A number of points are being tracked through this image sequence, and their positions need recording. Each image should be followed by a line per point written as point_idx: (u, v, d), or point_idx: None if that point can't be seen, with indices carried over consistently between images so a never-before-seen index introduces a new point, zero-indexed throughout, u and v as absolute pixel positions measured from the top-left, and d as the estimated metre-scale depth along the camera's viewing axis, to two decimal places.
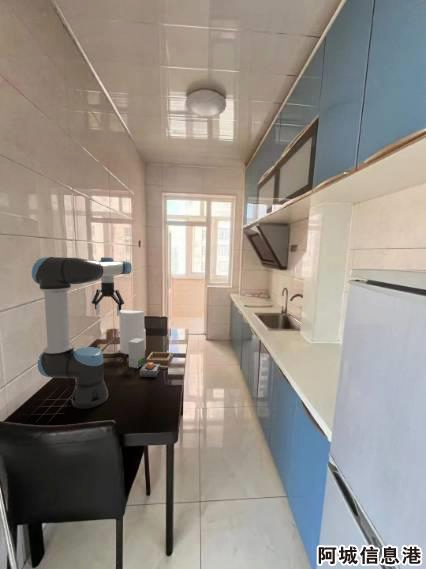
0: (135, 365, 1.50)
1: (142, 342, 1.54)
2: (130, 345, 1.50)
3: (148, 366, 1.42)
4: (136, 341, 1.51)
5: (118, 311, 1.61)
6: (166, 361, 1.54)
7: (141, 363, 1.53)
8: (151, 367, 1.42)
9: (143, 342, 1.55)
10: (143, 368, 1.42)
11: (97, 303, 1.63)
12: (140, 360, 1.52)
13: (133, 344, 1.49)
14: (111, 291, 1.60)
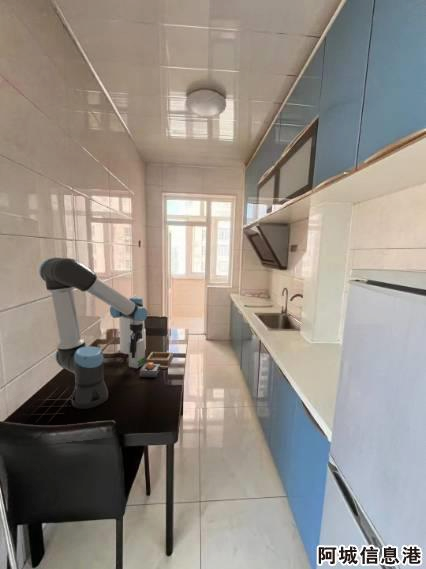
0: (135, 365, 1.50)
1: (142, 342, 1.54)
2: None
3: (148, 366, 1.42)
4: None
5: (132, 358, 1.49)
6: (166, 361, 1.54)
7: (141, 363, 1.53)
8: (151, 367, 1.42)
9: (143, 342, 1.55)
10: (143, 368, 1.42)
11: None
12: (140, 360, 1.52)
13: None
14: None
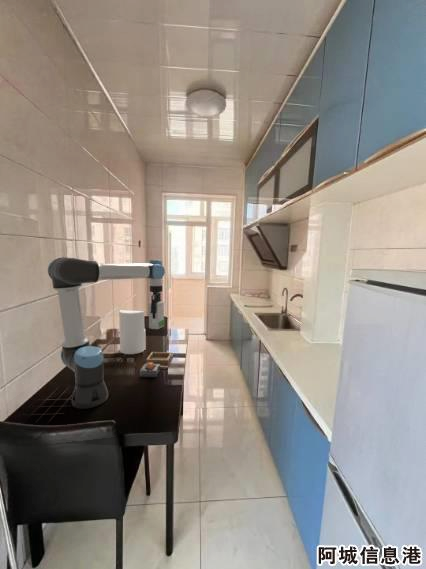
0: (156, 326, 1.53)
1: (161, 304, 1.56)
2: (150, 307, 1.52)
3: (148, 366, 1.42)
4: None
5: (152, 319, 1.51)
6: (166, 361, 1.54)
7: (161, 325, 1.56)
8: (151, 367, 1.42)
9: (162, 304, 1.57)
10: (143, 368, 1.42)
11: None
12: (160, 322, 1.55)
13: None
14: None
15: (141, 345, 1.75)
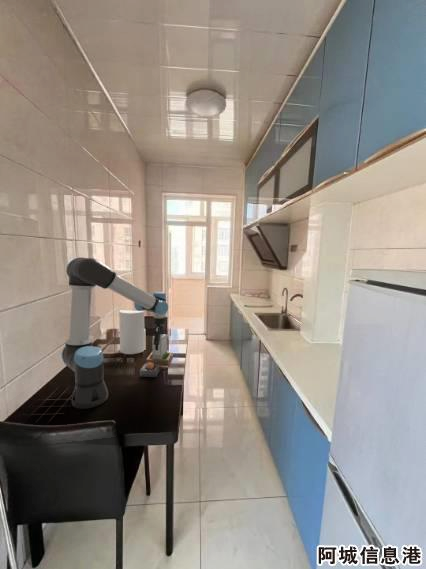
0: None
1: (165, 337, 1.60)
2: None
3: (148, 366, 1.42)
4: (160, 336, 1.57)
5: (155, 350, 1.53)
6: (166, 361, 1.54)
7: (164, 357, 1.59)
8: (151, 367, 1.42)
9: (165, 337, 1.61)
10: (143, 368, 1.42)
11: None
12: (163, 355, 1.58)
13: None
14: None
15: (141, 345, 1.75)
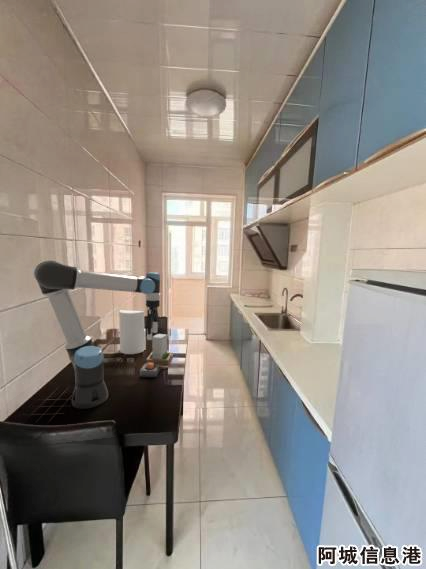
0: None
1: (165, 337, 1.60)
2: (154, 340, 1.56)
3: (148, 366, 1.42)
4: (160, 336, 1.57)
5: (147, 334, 1.40)
6: (166, 361, 1.54)
7: (164, 357, 1.59)
8: (151, 367, 1.42)
9: (165, 337, 1.61)
10: (143, 368, 1.42)
11: (155, 320, 1.53)
12: (163, 355, 1.58)
13: (157, 339, 1.55)
14: None
15: (141, 345, 1.75)
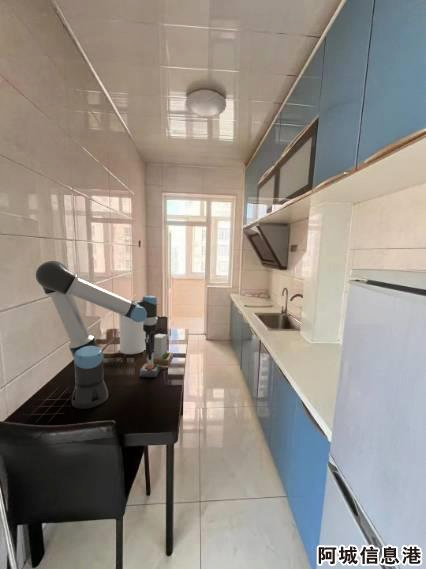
0: None
1: (165, 337, 1.60)
2: None
3: (148, 367, 1.42)
4: (160, 336, 1.57)
5: (148, 360, 1.43)
6: (166, 361, 1.54)
7: (164, 357, 1.59)
8: (151, 368, 1.42)
9: (165, 337, 1.61)
10: (143, 368, 1.42)
11: None
12: (163, 355, 1.58)
13: (157, 339, 1.55)
14: None
15: (141, 345, 1.75)
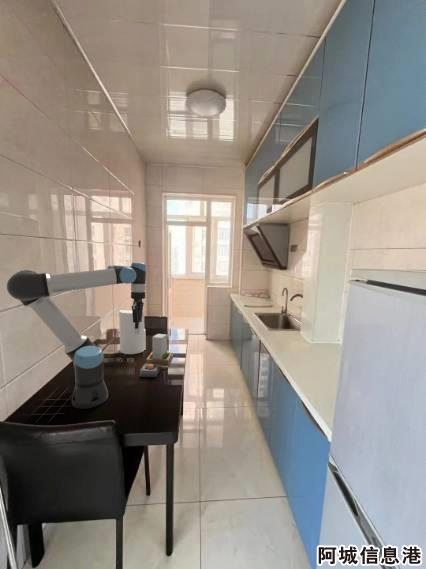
0: None
1: (165, 337, 1.59)
2: (154, 340, 1.56)
3: (148, 367, 1.42)
4: (160, 336, 1.57)
5: (135, 329, 1.39)
6: (166, 361, 1.54)
7: (164, 357, 1.59)
8: (151, 368, 1.42)
9: (165, 337, 1.61)
10: (143, 368, 1.42)
11: None
12: (163, 355, 1.58)
13: (157, 339, 1.55)
14: None
15: (141, 345, 1.75)
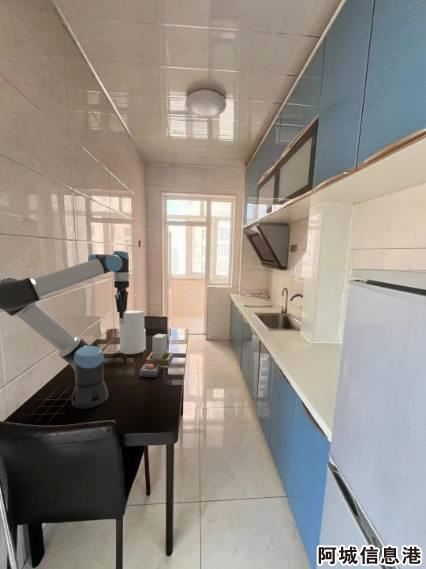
0: None
1: (165, 337, 1.60)
2: (154, 340, 1.56)
3: (148, 367, 1.42)
4: (160, 336, 1.57)
5: (119, 318, 1.37)
6: (166, 361, 1.54)
7: (164, 357, 1.59)
8: (151, 368, 1.42)
9: (165, 337, 1.61)
10: (143, 368, 1.42)
11: None
12: (163, 355, 1.58)
13: (157, 339, 1.55)
14: None
15: (141, 345, 1.75)
